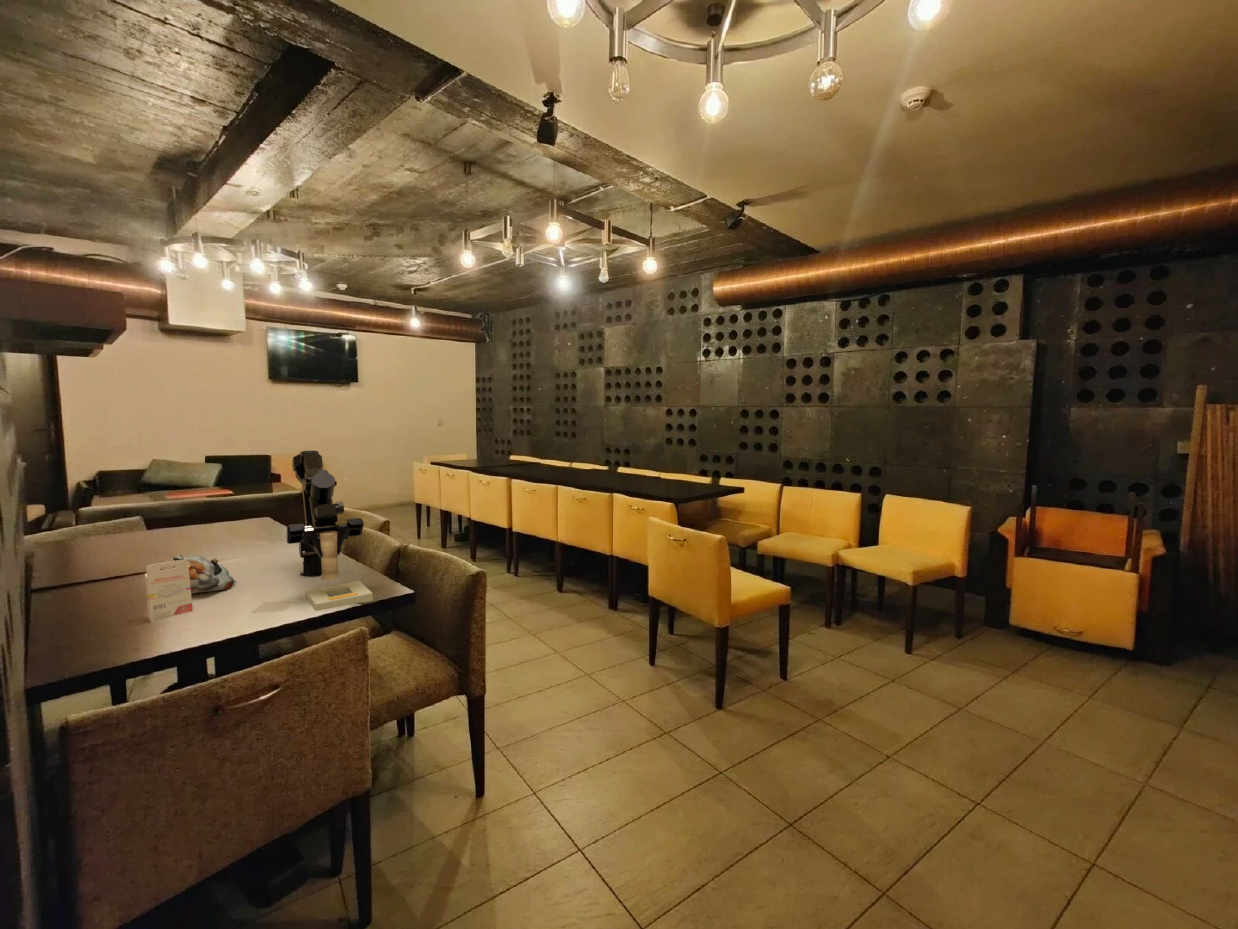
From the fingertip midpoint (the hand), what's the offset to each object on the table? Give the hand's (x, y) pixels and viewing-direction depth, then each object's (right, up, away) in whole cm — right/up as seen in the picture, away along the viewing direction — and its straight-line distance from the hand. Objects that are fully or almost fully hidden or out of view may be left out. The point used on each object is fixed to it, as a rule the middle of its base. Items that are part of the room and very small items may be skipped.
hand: (330, 555), depth 147 cm
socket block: (+1, -13, +4) cm, 14 cm away
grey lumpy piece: (-43, -13, +11) cm, 46 cm away
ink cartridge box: (-37, -14, -8) cm, 40 cm away
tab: (-13, -14, -3) cm, 19 cm away
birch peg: (-1, -7, +2) cm, 7 cm away
